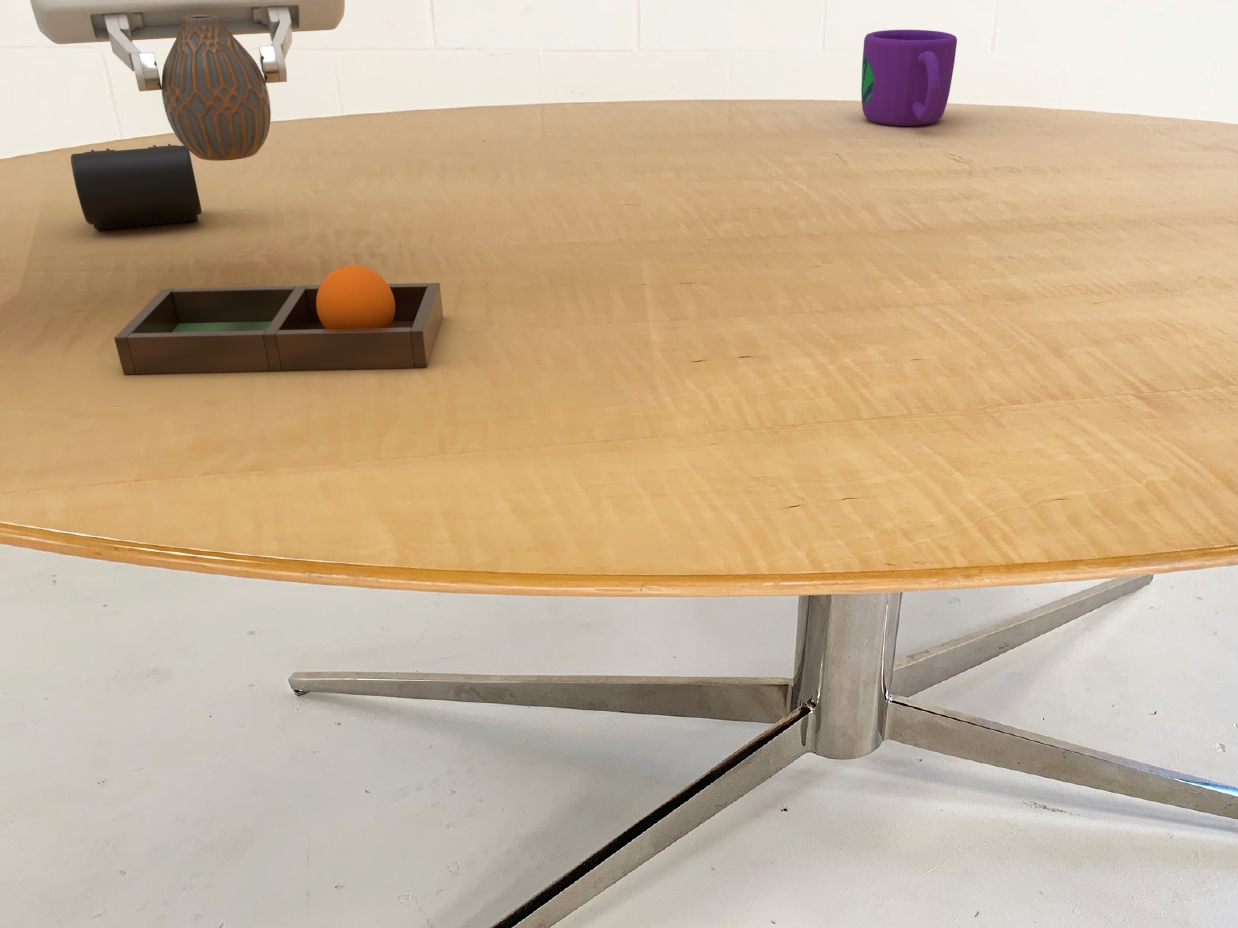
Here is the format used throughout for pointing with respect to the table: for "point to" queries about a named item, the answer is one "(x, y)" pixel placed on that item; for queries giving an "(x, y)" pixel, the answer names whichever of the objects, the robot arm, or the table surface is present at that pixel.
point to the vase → (214, 92)
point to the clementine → (355, 300)
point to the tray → (273, 332)
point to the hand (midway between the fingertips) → (213, 81)
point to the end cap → (136, 186)
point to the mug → (907, 76)
